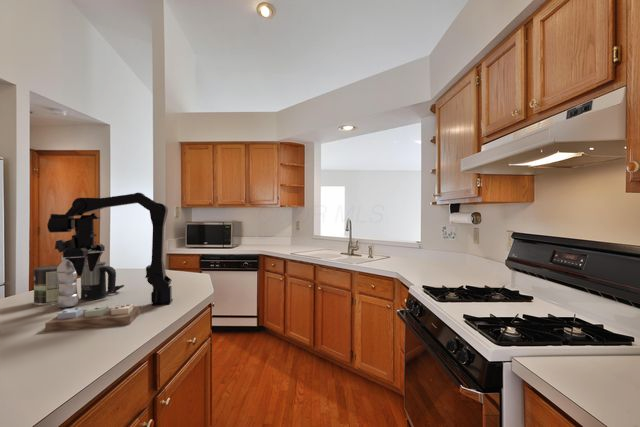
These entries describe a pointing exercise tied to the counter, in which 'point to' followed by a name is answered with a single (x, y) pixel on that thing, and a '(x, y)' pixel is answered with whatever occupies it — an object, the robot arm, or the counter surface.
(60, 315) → the tile
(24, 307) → the counter surface
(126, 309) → the tile
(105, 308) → the tile
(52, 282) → the coffee can
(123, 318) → the board
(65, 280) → the plastic bottle
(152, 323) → the counter surface
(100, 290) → the milk frother
